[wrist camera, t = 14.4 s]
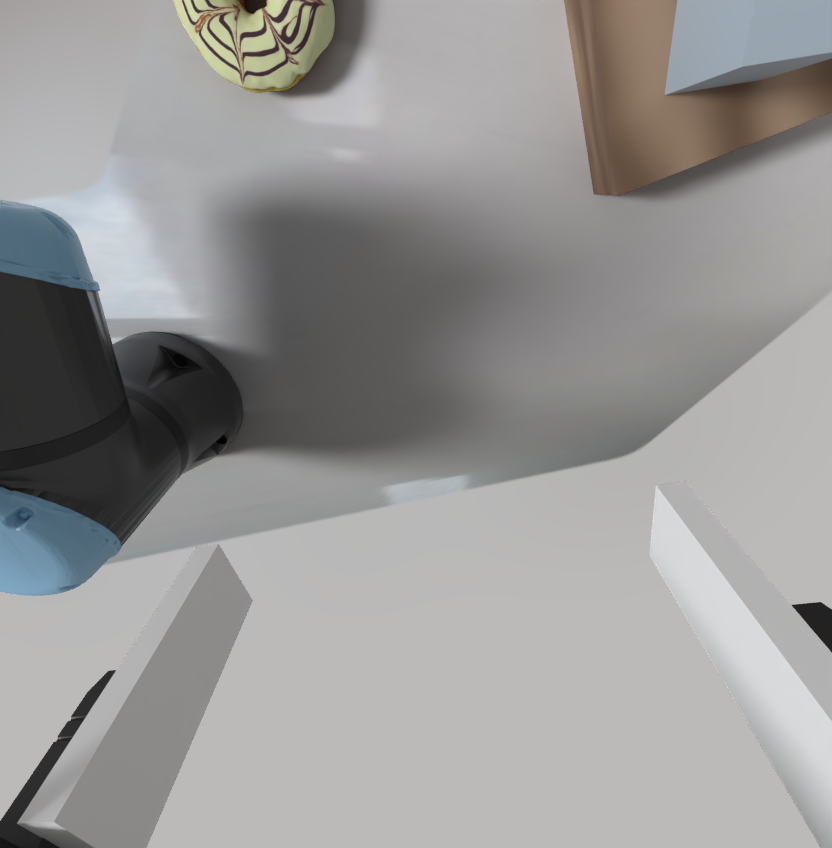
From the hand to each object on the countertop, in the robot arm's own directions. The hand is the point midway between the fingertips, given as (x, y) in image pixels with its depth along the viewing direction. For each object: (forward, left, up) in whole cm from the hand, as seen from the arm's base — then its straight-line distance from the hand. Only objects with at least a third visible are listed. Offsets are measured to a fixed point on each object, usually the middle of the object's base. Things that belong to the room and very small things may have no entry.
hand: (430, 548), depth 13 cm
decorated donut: (-8, +23, -32) cm, 40 cm away
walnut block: (+21, +14, -32) cm, 41 cm away
